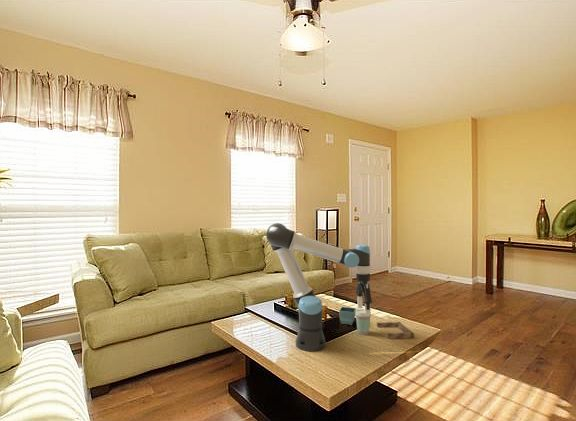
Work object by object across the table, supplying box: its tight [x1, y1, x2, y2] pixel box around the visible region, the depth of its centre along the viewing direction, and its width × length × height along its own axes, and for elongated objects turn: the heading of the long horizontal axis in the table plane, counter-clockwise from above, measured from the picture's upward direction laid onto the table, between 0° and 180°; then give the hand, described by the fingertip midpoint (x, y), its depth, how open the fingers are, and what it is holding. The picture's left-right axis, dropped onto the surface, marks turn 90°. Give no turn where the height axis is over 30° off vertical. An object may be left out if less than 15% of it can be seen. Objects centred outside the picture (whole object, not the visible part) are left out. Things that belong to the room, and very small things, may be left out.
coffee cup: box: [355, 308, 372, 336], centre depth 177 cm, size 9×8×12 cm
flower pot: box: [338, 306, 357, 326], centre depth 190 cm, size 9×9×9 cm
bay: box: [376, 321, 415, 340], centre depth 178 cm, size 14×18×2 cm
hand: (363, 311), depth 177 cm, fingers open, 13 cm apart
